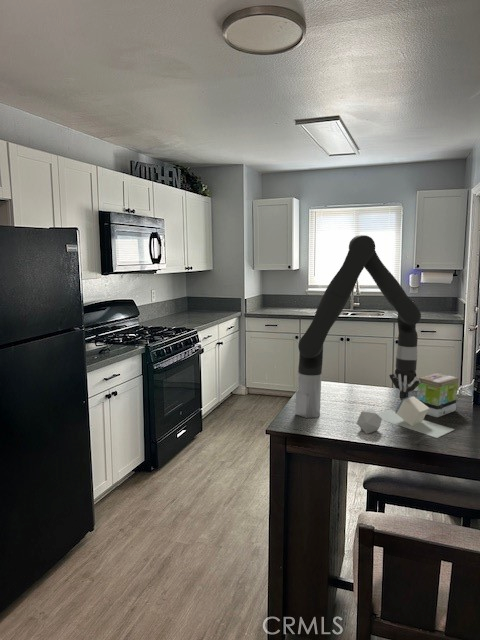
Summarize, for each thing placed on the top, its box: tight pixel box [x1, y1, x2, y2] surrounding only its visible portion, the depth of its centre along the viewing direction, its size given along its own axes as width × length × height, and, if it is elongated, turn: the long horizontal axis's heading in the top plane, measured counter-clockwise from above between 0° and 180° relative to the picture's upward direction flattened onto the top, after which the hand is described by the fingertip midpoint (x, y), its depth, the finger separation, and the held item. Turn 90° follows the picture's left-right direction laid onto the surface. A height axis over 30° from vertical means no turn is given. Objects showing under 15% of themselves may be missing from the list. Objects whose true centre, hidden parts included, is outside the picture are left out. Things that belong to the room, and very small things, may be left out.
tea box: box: [416, 372, 459, 418], centre depth 192 cm, size 15×10×15 cm
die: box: [356, 408, 383, 435], centre depth 170 cm, size 8×9×10 cm
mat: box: [376, 409, 456, 439], centre depth 179 cm, size 13×28×1 cm, turn 39°
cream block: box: [395, 394, 430, 426], centre depth 178 cm, size 7×7×8 cm
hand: (403, 400), depth 181 cm, fingers closed
